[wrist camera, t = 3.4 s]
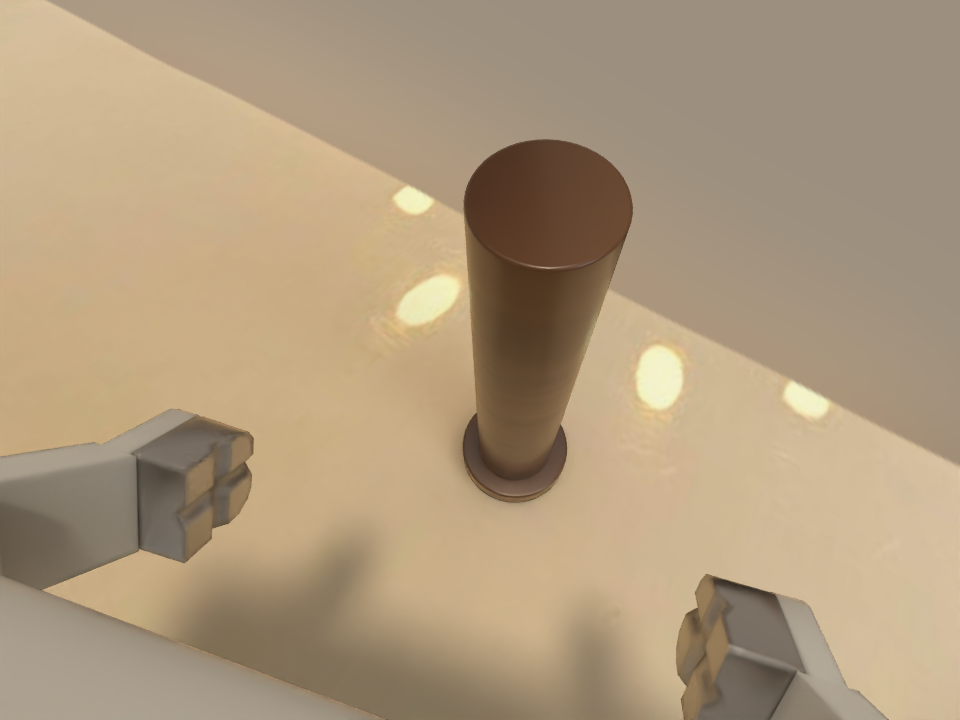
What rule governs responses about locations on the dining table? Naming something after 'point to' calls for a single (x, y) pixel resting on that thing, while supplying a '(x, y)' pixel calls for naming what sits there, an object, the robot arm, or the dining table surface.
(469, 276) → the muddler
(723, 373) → the dining table surface
